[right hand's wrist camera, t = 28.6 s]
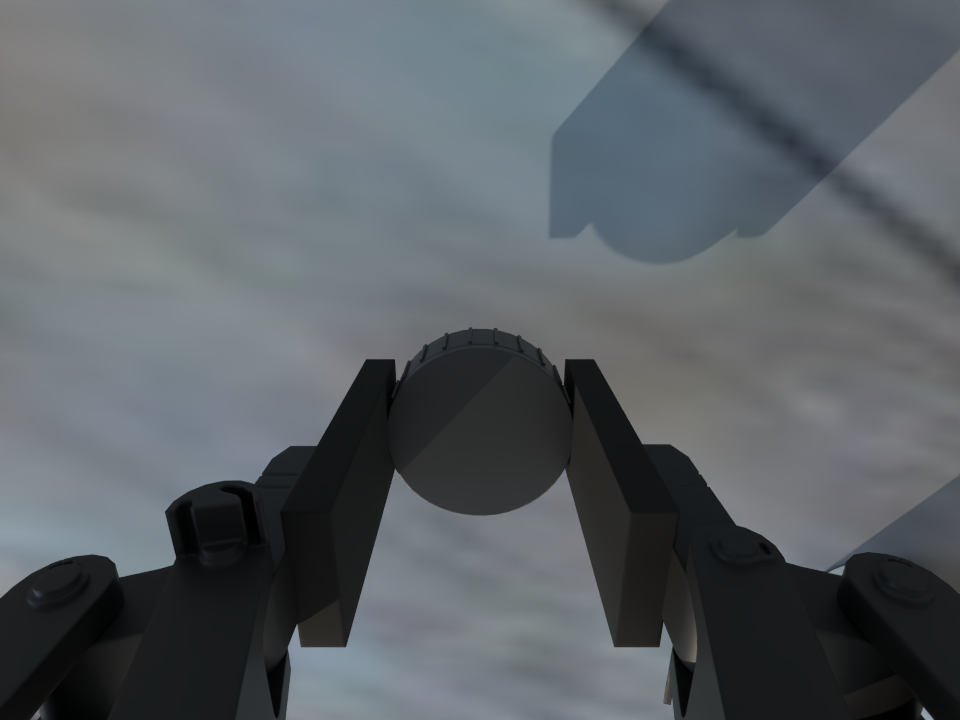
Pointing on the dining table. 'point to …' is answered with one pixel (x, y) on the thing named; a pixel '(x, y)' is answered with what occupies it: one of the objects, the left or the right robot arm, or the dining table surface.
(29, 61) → the dining table surface
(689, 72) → the dining table surface
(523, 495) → the cap
